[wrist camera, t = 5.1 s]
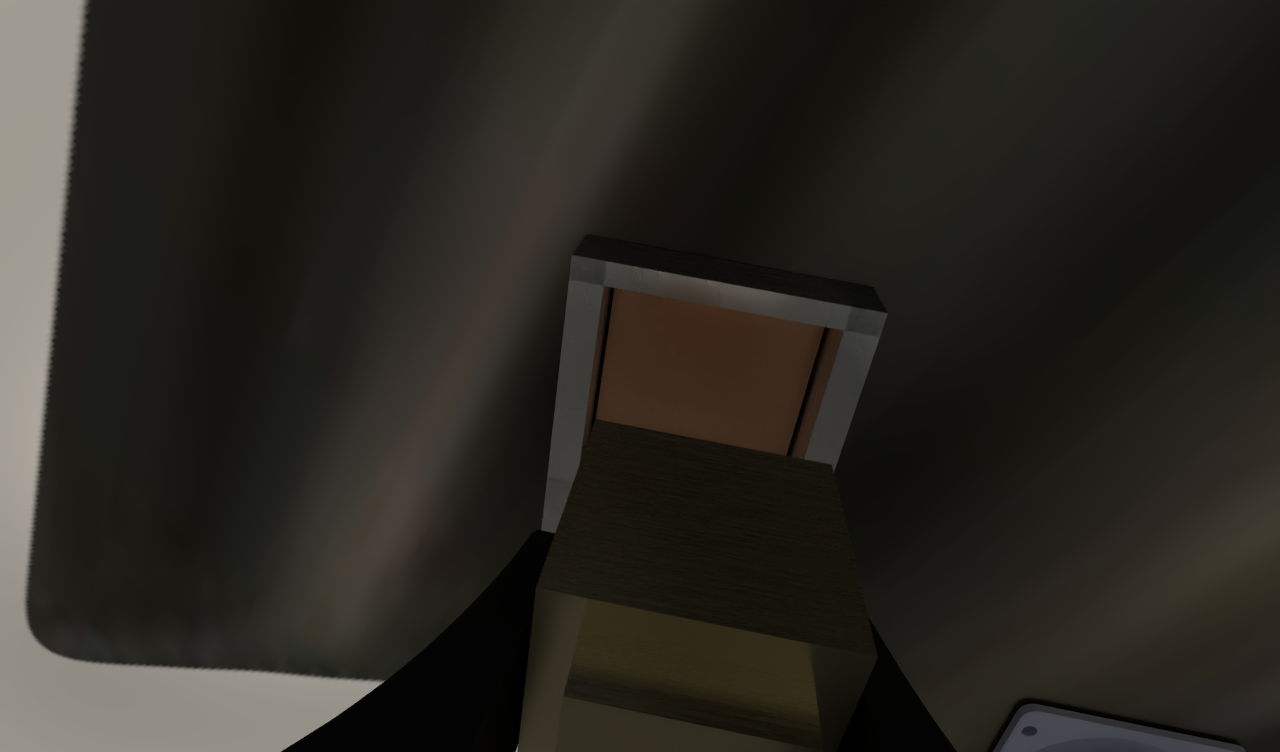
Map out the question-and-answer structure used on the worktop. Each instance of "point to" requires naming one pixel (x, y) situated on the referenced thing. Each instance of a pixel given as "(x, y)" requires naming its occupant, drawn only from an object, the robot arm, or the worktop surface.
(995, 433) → the worktop surface
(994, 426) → the worktop surface
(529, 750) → the block
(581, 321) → the grey flat frame
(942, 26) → the worktop surface
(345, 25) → the worktop surface
